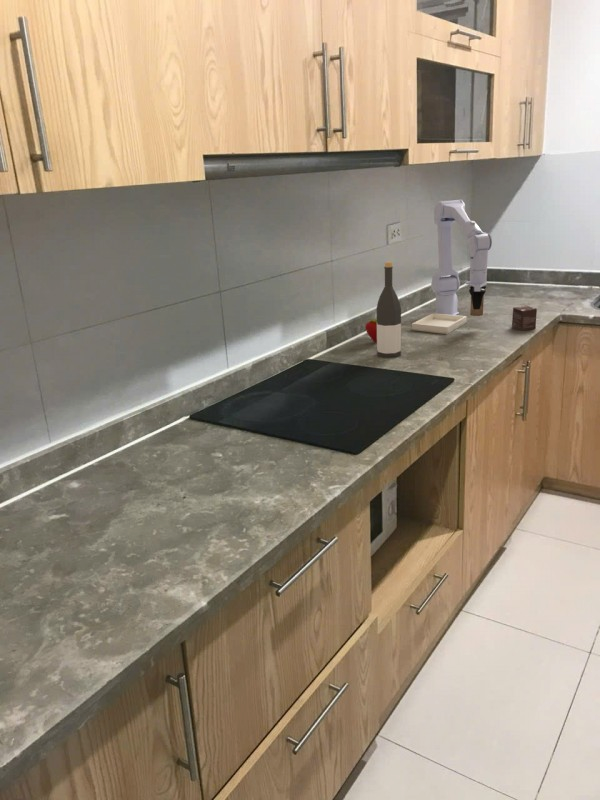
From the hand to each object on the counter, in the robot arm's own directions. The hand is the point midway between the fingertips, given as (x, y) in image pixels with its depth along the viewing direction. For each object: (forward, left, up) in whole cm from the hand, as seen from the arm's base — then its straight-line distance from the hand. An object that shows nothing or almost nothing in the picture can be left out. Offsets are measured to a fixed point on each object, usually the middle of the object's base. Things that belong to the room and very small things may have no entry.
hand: (476, 307), depth 230 cm
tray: (0, -14, -8) cm, 16 cm away
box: (-10, +14, -9) cm, 19 cm away
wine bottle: (+40, -14, -9) cm, 43 cm away
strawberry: (+29, -25, -9) cm, 39 cm away
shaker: (0, 0, -3) cm, 2 cm away
